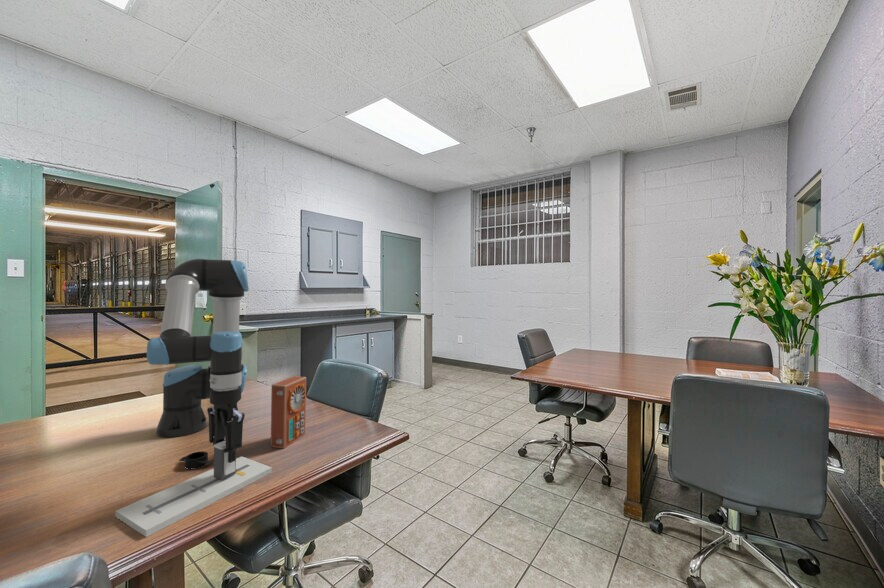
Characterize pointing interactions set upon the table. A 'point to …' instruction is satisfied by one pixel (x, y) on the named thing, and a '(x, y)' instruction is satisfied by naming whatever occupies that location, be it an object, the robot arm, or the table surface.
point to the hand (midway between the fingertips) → (224, 470)
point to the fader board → (188, 497)
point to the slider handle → (220, 461)
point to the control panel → (288, 411)
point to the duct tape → (196, 460)
